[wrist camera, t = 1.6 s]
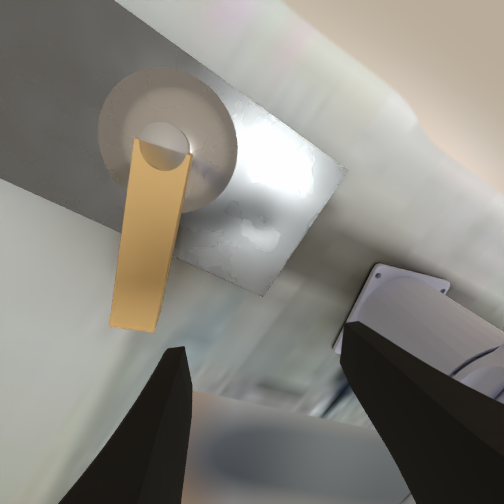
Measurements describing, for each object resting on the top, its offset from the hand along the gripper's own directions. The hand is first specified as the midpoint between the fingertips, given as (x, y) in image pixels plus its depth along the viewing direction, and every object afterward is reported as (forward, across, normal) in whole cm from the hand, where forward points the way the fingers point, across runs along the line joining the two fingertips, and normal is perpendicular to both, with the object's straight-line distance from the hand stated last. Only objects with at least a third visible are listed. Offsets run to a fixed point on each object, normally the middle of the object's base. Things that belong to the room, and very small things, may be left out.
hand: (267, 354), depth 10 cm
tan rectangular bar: (+7, +5, -3) cm, 9 cm away
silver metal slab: (+10, +4, -7) cm, 13 cm away
